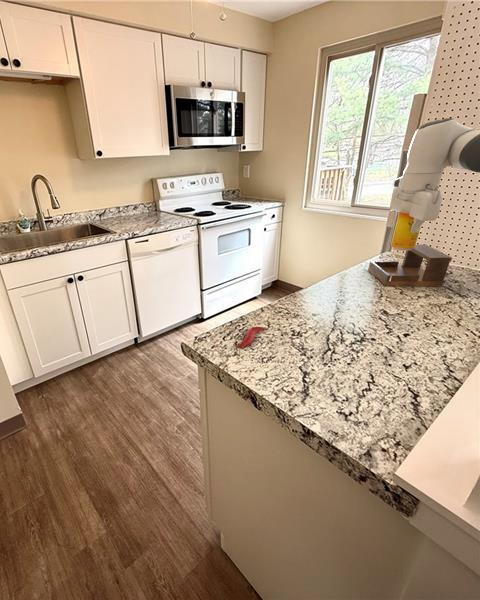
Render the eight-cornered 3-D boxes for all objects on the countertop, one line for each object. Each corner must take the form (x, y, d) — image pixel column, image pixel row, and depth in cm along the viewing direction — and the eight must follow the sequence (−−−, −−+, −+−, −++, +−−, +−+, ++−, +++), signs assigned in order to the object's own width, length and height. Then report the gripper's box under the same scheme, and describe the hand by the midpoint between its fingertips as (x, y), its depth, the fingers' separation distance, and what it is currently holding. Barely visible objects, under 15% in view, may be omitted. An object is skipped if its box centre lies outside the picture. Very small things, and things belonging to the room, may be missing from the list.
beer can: (413, 252, 96) (427, 202, 89) (388, 249, 100) (400, 201, 93) (415, 247, 100) (429, 198, 93) (391, 244, 103) (403, 198, 97)
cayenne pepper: (258, 326, 84) (258, 319, 84) (272, 332, 81) (273, 326, 80) (226, 341, 79) (227, 335, 78) (241, 349, 75) (241, 343, 74)
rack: (418, 270, 107) (425, 244, 104) (442, 286, 95) (452, 257, 91) (367, 270, 111) (373, 245, 107) (385, 285, 99) (392, 258, 95)
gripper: (455, 185, 81) (438, 237, 87) (414, 178, 99) (403, 222, 105) (426, 187, 83) (412, 238, 89) (391, 180, 101) (381, 222, 106)
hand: (407, 229), depth 97 cm, fingers closed on beer can, 6 cm apart
